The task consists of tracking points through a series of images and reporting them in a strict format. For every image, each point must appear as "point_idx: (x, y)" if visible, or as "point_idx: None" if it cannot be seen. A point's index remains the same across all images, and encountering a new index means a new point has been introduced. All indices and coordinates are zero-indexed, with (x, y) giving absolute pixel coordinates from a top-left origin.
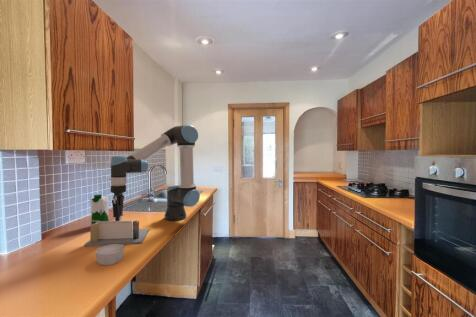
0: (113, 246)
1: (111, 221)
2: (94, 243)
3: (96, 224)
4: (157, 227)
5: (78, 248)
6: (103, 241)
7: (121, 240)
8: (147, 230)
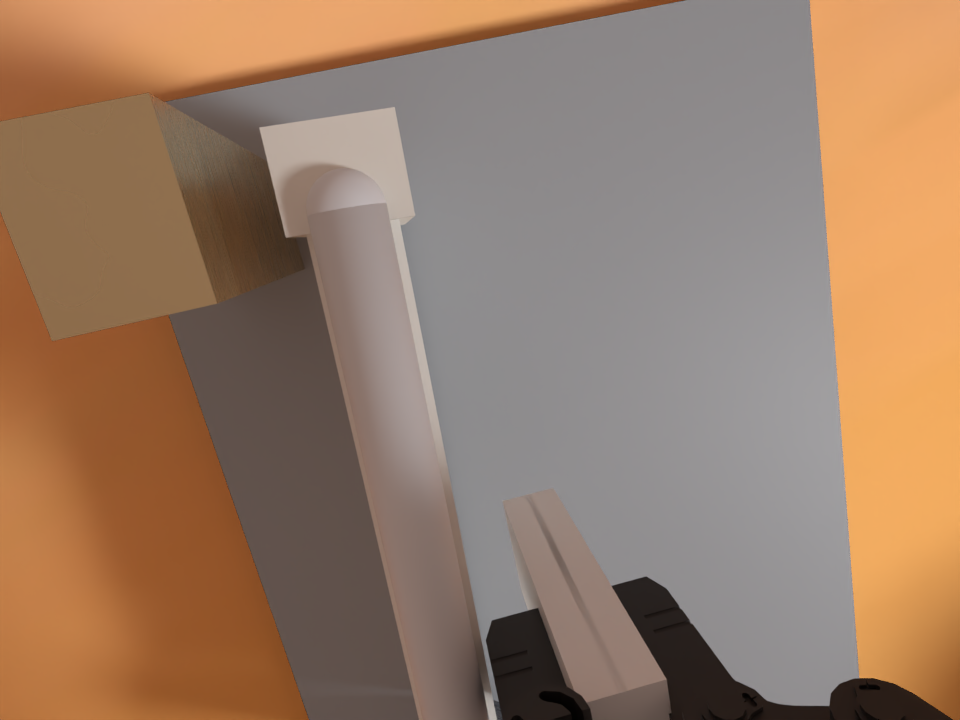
0: None
1: (411, 608)
2: None
3: (100, 296)
4: (956, 715)
5: (17, 75)
6: (290, 362)
7: (367, 600)
8: None
